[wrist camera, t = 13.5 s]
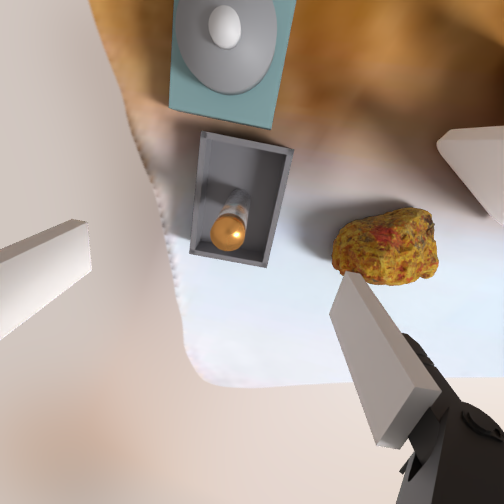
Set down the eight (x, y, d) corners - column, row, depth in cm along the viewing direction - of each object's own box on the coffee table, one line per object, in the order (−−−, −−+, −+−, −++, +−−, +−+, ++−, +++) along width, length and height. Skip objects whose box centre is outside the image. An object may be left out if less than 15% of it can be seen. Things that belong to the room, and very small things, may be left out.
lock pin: (230, 187, 30) (212, 215, 19) (252, 191, 30) (247, 222, 19) (227, 208, 31) (208, 247, 20) (248, 212, 31) (241, 254, 20)
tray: (208, 131, 28) (201, 130, 25) (290, 148, 28) (294, 149, 25) (196, 242, 33) (189, 253, 30) (266, 255, 33) (266, 268, 30)
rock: (363, 195, 34) (456, 202, 27) (366, 247, 38) (446, 264, 31) (316, 238, 29) (416, 260, 22) (324, 292, 33) (410, 326, 26)
